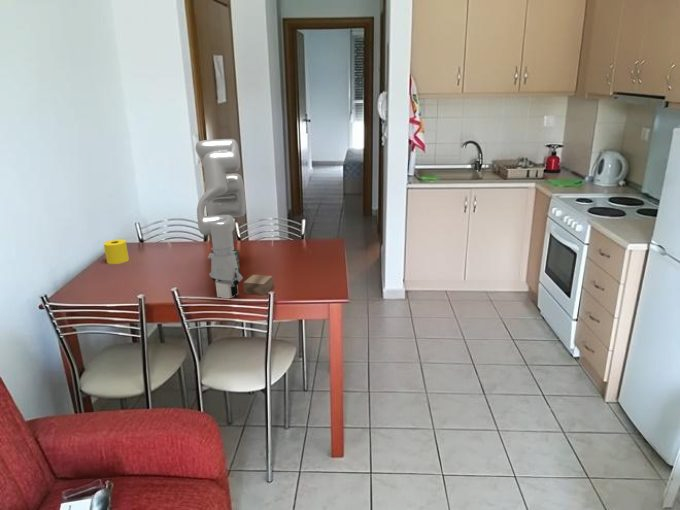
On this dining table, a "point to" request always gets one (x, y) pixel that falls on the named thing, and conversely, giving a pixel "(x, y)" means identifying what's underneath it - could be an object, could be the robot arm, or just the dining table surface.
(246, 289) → the walnut block
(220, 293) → the cream cube
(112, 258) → the tape roll
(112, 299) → the dining table surface
